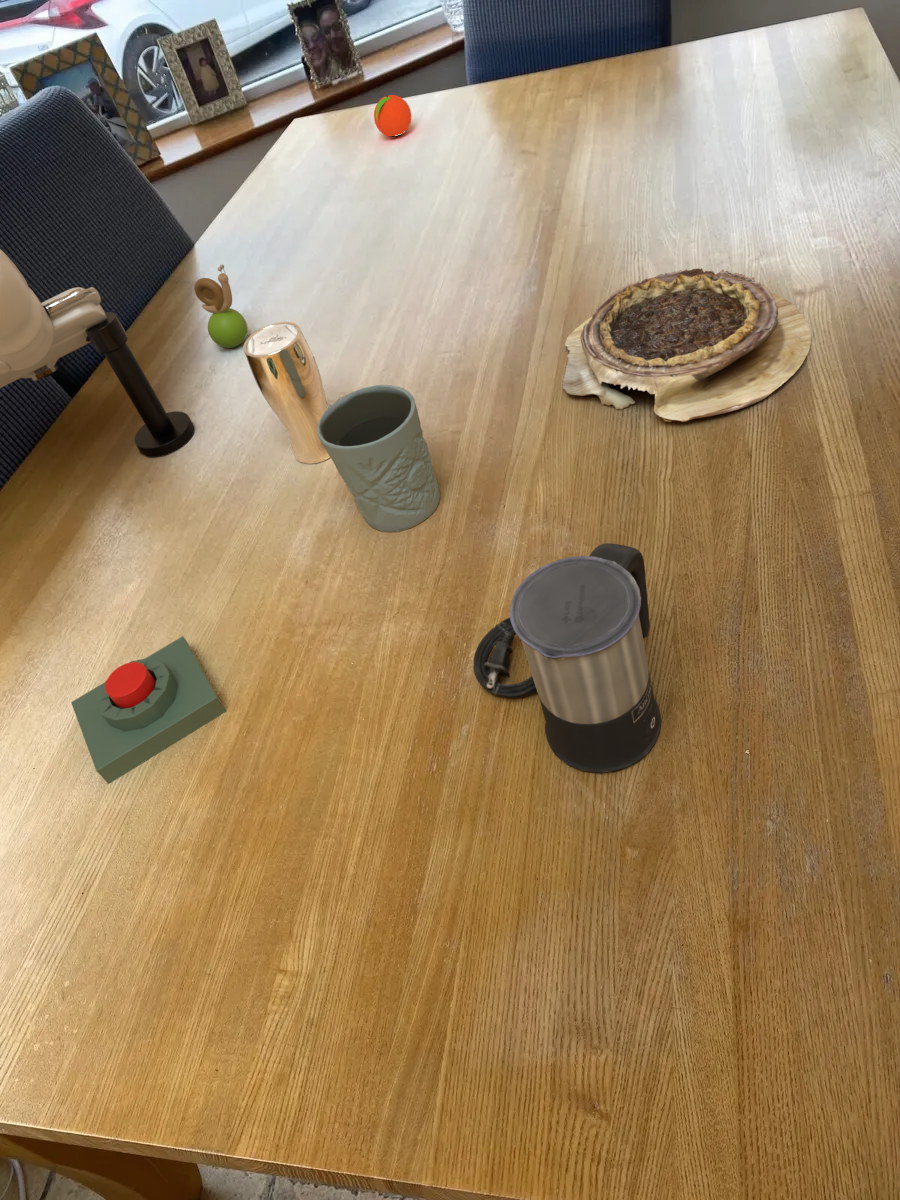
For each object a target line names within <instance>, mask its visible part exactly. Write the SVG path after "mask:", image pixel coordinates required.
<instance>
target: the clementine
mask: <svg viewBox="0 0 900 1200" xmlns="http://www.w3.org/2000/svg"><path fill="white" fill-rule="evenodd" d="M373 110H374V111H373V120H374V124H375V127H376V129H378V131H379V132H380V133H381V134H382V135H384V136H385V137H388V136H395V135H398V134H401V133H403V132H404V131H406V130H407V131H408V130H409V128H410V126H411V124H412V111H411V108H410V106H409V104H408V102H407V101H406V100H405V99H403V98H402V97H401V96H398V95H395V94H389V95H386V96H384V97H382V98H380V99H379V101H378V102H377V104H375V107H374V109H373ZM407 131H406V132H407Z"/></svg>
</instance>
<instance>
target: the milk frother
mask: <svg viewBox="0 0 900 1200" xmlns="http://www.w3.org/2000/svg"><path fill="white" fill-rule="evenodd" d="M509 607H510V608H509V617H507V618H504V619H503V620H502V621H500V622H499V623H497V624H495V626H493V628H491V629H490V630H489V631H488V632H487V633H486V634H484V636H483V637H482V640H481V641H480V642H479V643H478V645H477V647H476V650H475V652H474V655H473V656H474V657H473V673H474V676H475V678H476V680H477V682H478V684H479V685H480V686H481V687H482V688H483V689H484V690H485V691H487V692H488V693H489V694H492V695H493V696H496V697H501V698H506V699H520V698H525V697H527V696H529V695H532V694H534V693H536V692H537V696H538V699H539V702H540V705H541V709H542V713H543V717H544V721H545V723H544V724H545V725H544V734H545V737H546V741H547V743H548V745H549V747H550V749H551V751H552V752H553V753H554V755H555V756H556V757H557V758H558V759H559V760H560V761H562V762H563V763H565V764H566V765H567V766H569V767H571V768H574V769H576V770H579V771H581V772H587V773H593V774H594V773H596V774H603V773H612V772H617V771H620V770H624V769H627V768H629V767H630V766H633V765H635V764H636V763H638V762H639V761H641V760H642V759H644V757H645V756H647V754H649V752H650V751H651V750H652V749H653V747H654V746H655V744H656V742H657V741H658V737H659V735H660V732H661V728H662V716H661V715H662V714H661V710H660V707H659V704H658V702H657V700H656V698H655V695H654V691H653V686H652V680H651V676H650V675H651V674H650V669H649V664H648V663H649V662H648V657H647V652H646V646H645V641H644V639H646V638H647V637H648V636H649V632H650V627H651V624H650V612H649V601H648V590H647V579H646V567H645V559H644V556H643V553H642V552H641V551H640V550H639V549H637V548H636V547H632V546H629V545H624V544H618V543H612V542H611V543H609V542H608V543H602V544H599V545H597V546H596V547H595V548H594V549H593V550H592V551H591V553H590V554H589V555H584V556H583V555H578V556H568V557H564V558H560V559H559V558H558V559H557V560H555V561H552V562H549V563H547V564H545V565H543V566H541V567H539V568H538V569H536V570H534V571H533V572H531V573H530V574H529V575H528V576H527V577H525V579H524V580H523V581H522V582H521V583H520V584H519V586H518V587H517V588H516V589H515V591H514V594H513V596H512V599H511V603H510V606H509ZM515 635H516V636H517V637H518V638H519V640H520V641H521V645H522V649H523V651H524V654H525V657H526V660H527V663H528V666H529V670H530V673H531V676H530V677H528V678H526V679H525V680H522V681H520V682H517V683H512V684H510V683H502V682H499V677H500V676H502V677H505V678H510V675H511V674H510V672H509V668H510V661H511V654H512V653H513V650H514V649H512V648H513V647H512V644H513V642H514V641H515ZM489 657H490V658H489Z"/></svg>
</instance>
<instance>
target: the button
mask: <svg viewBox="0 0 900 1200" xmlns="http://www.w3.org/2000/svg"><path fill="white" fill-rule="evenodd" d="M129 662H130V663H129ZM129 662H127V663H123V664H122V665H120V666H117V668H115V669H114V670H113V671H112V672H111V673H110V674H109V675H108V677H107V679H106V680H107V681H106V680H105V681H106V684H105V690H106V693H107V694H108V695H109V696H110V698H111V699H112V700H113V701H114V702H115V704H116V705H117V706H119V707H122V708H130V707H134V706H135V705H137V704H139V703H140V702H142V701H144V700H145V699H146V698H147V697H148V696H149V695H150V693H151V692H152V691H153V690H154V687H155V680H154V678H153V676H152V675H151V674H150V672H149V671H148V670H147V668H146V667H145V666H144V665H143V664H141V663H139V662H131V661H129Z"/></svg>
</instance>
